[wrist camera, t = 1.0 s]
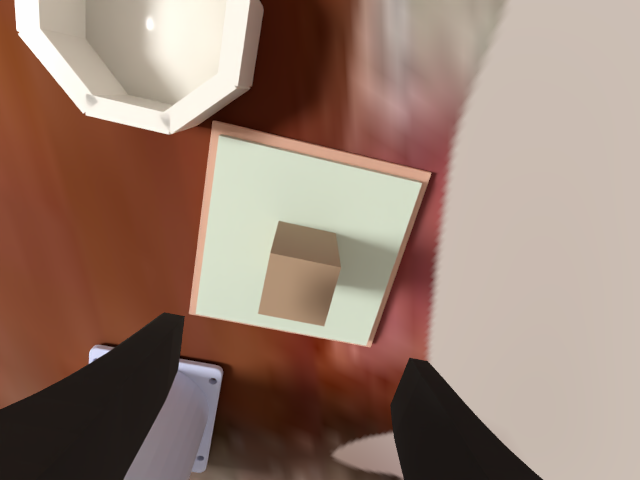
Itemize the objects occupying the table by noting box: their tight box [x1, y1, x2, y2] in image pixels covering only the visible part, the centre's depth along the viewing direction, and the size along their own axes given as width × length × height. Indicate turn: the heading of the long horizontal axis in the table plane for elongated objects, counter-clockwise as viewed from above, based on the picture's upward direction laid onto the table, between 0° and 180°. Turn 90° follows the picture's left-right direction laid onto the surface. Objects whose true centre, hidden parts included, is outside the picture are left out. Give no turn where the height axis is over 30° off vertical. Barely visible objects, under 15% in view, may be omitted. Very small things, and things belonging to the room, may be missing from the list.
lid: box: [196, 134, 422, 346], centre depth 18 cm, size 10×10×5 cm
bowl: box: [15, 0, 264, 134], centre depth 15 cm, size 8×8×4 cm
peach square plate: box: [189, 120, 431, 347], centre depth 20 cm, size 11×11×1 cm
